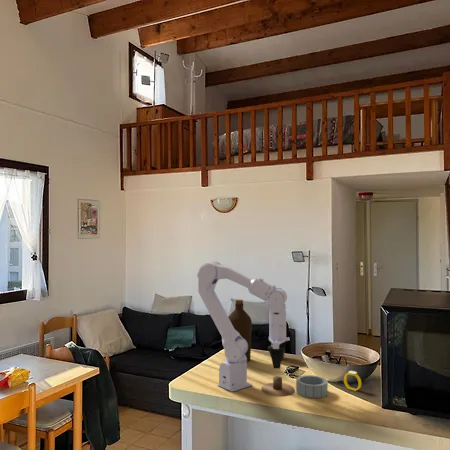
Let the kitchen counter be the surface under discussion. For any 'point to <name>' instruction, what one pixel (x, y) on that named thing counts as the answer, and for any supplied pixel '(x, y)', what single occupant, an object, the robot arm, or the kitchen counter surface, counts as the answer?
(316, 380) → the bowl
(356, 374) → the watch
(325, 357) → the lighter
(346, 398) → the kitchen counter surface
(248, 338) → the olive oil
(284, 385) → the lid
